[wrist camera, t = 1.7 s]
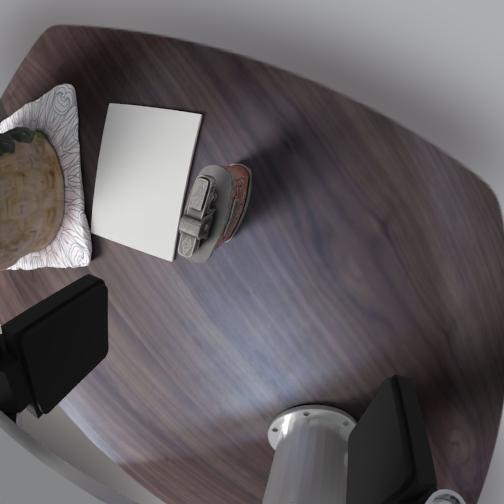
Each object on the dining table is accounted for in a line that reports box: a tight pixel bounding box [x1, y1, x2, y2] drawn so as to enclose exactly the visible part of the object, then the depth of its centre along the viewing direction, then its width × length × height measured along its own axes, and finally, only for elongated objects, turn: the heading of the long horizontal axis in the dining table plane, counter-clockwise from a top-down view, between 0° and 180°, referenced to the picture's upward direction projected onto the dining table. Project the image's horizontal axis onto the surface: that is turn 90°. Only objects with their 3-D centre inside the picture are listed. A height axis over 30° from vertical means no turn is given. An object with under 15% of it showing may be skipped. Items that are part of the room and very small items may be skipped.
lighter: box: [178, 163, 253, 263], centre depth 26 cm, size 8×3×10 cm, turn 162°
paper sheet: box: [91, 103, 203, 262], centre depth 32 cm, size 12×16×1 cm
